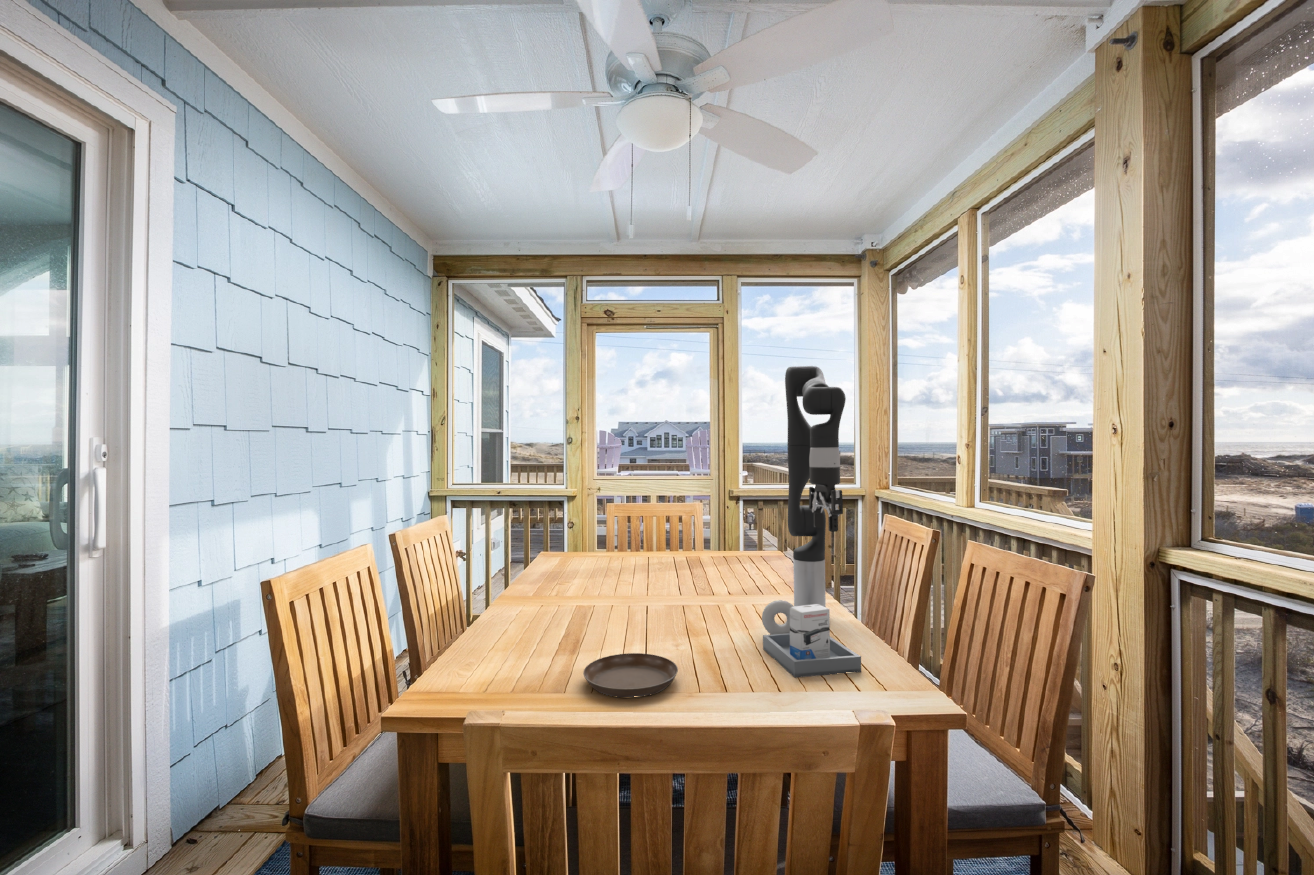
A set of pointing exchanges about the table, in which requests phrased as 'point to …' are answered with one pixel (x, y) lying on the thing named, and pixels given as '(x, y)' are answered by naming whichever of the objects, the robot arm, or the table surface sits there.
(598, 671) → the plant saucer
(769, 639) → the tray
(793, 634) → the ink box
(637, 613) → the table surface
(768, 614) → the donut
